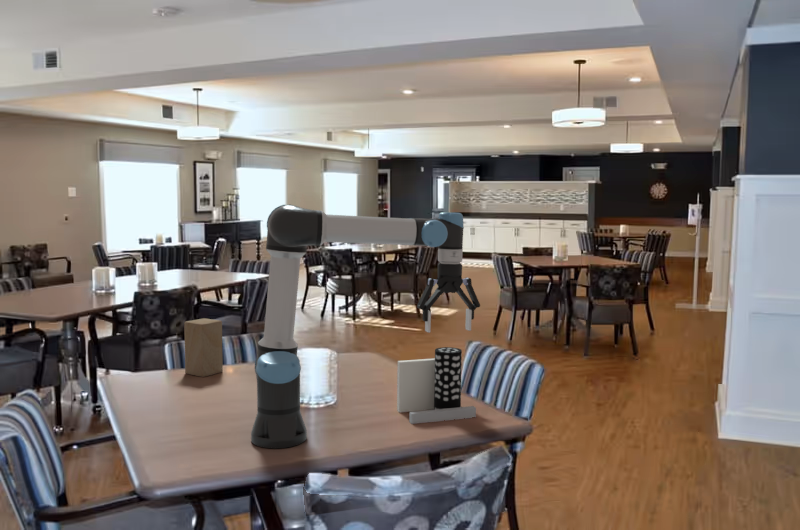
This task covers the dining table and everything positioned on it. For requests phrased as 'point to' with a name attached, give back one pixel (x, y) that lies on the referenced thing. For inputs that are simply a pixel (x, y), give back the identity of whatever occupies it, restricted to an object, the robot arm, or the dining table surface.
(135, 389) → the dining table surface
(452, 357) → the white-spotted black cylinder
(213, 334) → the wooden block
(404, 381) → the cleat board
